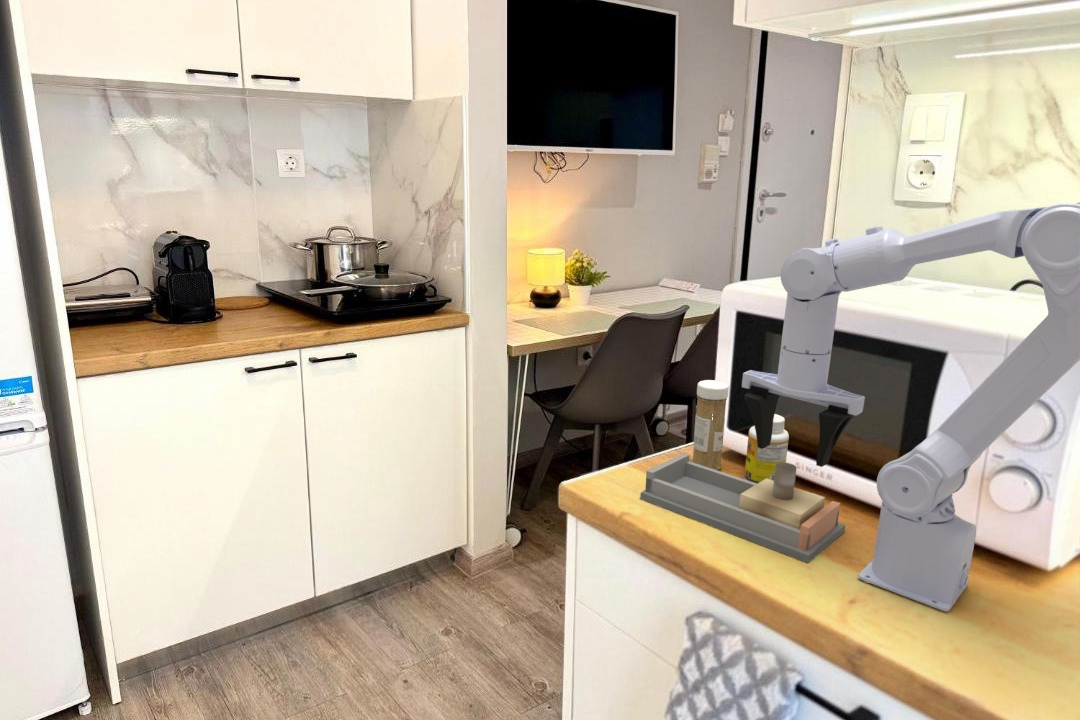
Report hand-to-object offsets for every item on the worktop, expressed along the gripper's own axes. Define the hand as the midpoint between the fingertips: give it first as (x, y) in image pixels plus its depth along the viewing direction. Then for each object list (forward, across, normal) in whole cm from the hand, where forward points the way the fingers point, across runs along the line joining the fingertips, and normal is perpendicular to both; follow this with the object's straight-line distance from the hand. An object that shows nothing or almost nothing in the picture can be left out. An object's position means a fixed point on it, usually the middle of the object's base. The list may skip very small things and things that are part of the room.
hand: (792, 454), depth 94 cm
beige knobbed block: (+9, +1, 0) cm, 9 cm away
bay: (+10, +6, 0) cm, 12 cm away
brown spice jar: (+11, +18, -11) cm, 23 cm away
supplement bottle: (+11, +9, -12) cm, 18 cm away
